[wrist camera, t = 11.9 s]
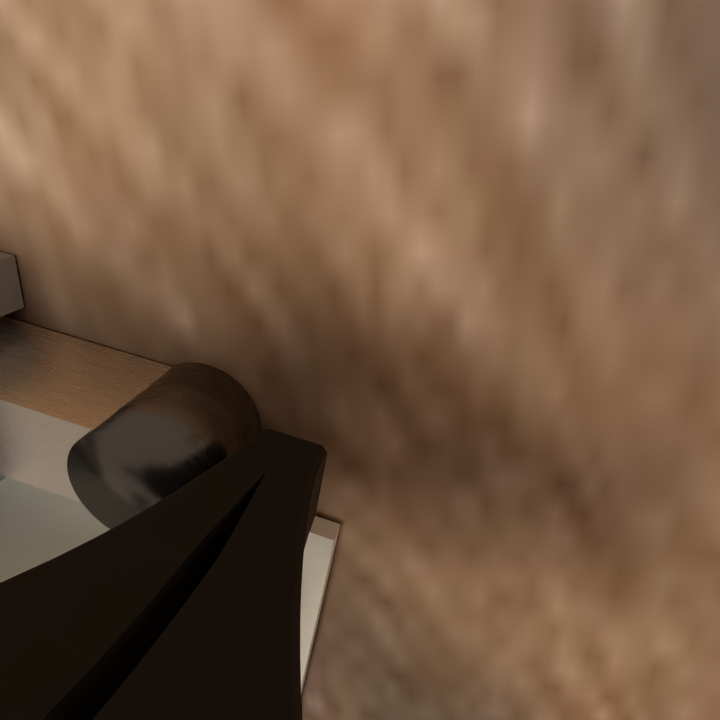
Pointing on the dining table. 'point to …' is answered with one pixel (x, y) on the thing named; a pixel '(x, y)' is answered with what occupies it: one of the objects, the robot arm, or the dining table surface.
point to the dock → (77, 525)
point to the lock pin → (111, 421)
